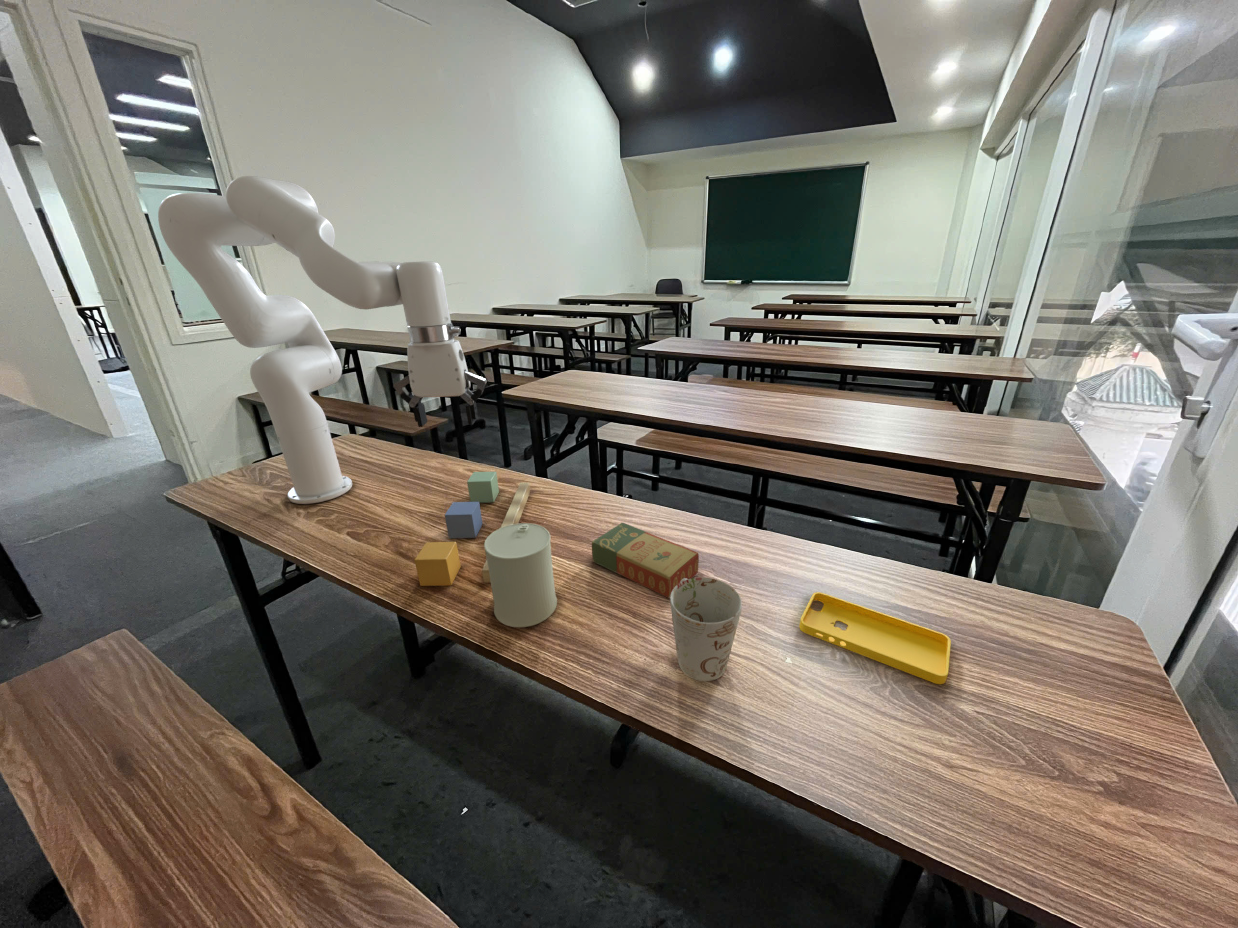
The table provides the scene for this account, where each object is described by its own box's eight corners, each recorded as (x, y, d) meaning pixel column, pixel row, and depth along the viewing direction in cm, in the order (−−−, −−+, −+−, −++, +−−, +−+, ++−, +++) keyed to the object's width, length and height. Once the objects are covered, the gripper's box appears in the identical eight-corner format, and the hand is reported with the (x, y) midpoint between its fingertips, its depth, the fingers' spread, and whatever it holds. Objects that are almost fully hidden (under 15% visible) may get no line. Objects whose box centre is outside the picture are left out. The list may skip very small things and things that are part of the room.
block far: (470, 502, 102) (466, 481, 100) (476, 492, 106) (473, 471, 104) (493, 502, 102) (490, 481, 100) (499, 491, 106) (496, 471, 104)
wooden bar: (521, 492, 106) (520, 482, 105) (530, 492, 106) (529, 482, 105) (483, 582, 76) (481, 570, 75) (496, 582, 76) (494, 570, 75)
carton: (669, 600, 71) (669, 576, 70) (590, 561, 81) (589, 540, 79) (698, 573, 77) (699, 551, 75) (622, 540, 87) (621, 519, 85)
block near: (420, 586, 76) (414, 559, 74) (431, 567, 81) (425, 542, 79) (451, 585, 76) (446, 559, 74) (461, 566, 81) (456, 541, 79)
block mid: (448, 538, 89) (444, 514, 87) (457, 524, 93) (453, 502, 91) (475, 537, 89) (471, 514, 87) (482, 524, 93) (479, 501, 91)
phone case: (945, 687, 56) (947, 678, 55) (797, 630, 65) (798, 622, 65) (948, 643, 62) (951, 635, 62) (813, 597, 71) (814, 589, 71)
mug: (684, 697, 56) (687, 630, 52) (648, 624, 67) (648, 565, 63) (748, 679, 58) (755, 614, 54) (703, 612, 69) (706, 553, 65)
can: (562, 587, 75) (556, 520, 70) (549, 629, 66) (541, 557, 62) (505, 584, 76) (495, 518, 71) (485, 626, 67) (472, 554, 62)
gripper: (483, 330, 91) (495, 416, 98) (392, 333, 91) (410, 419, 97) (473, 336, 84) (487, 428, 91) (374, 339, 84) (396, 432, 90)
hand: (447, 423), depth 94 cm, fingers open, 9 cm apart
